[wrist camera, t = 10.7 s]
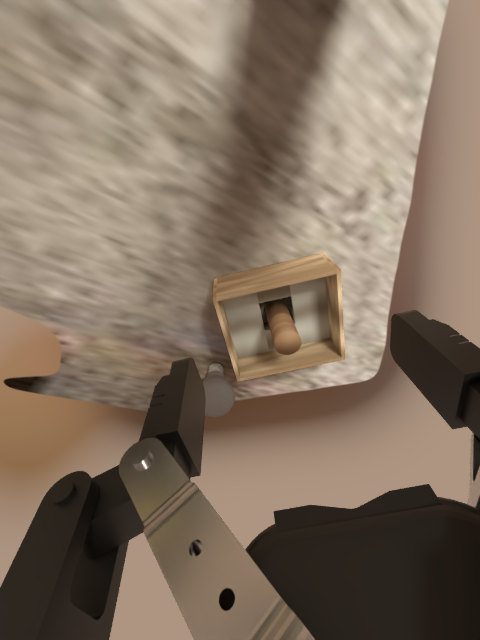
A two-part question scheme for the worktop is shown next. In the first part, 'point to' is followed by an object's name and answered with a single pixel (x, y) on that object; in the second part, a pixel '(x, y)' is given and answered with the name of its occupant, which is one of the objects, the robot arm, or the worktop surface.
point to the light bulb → (217, 392)
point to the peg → (282, 327)
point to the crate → (307, 311)
